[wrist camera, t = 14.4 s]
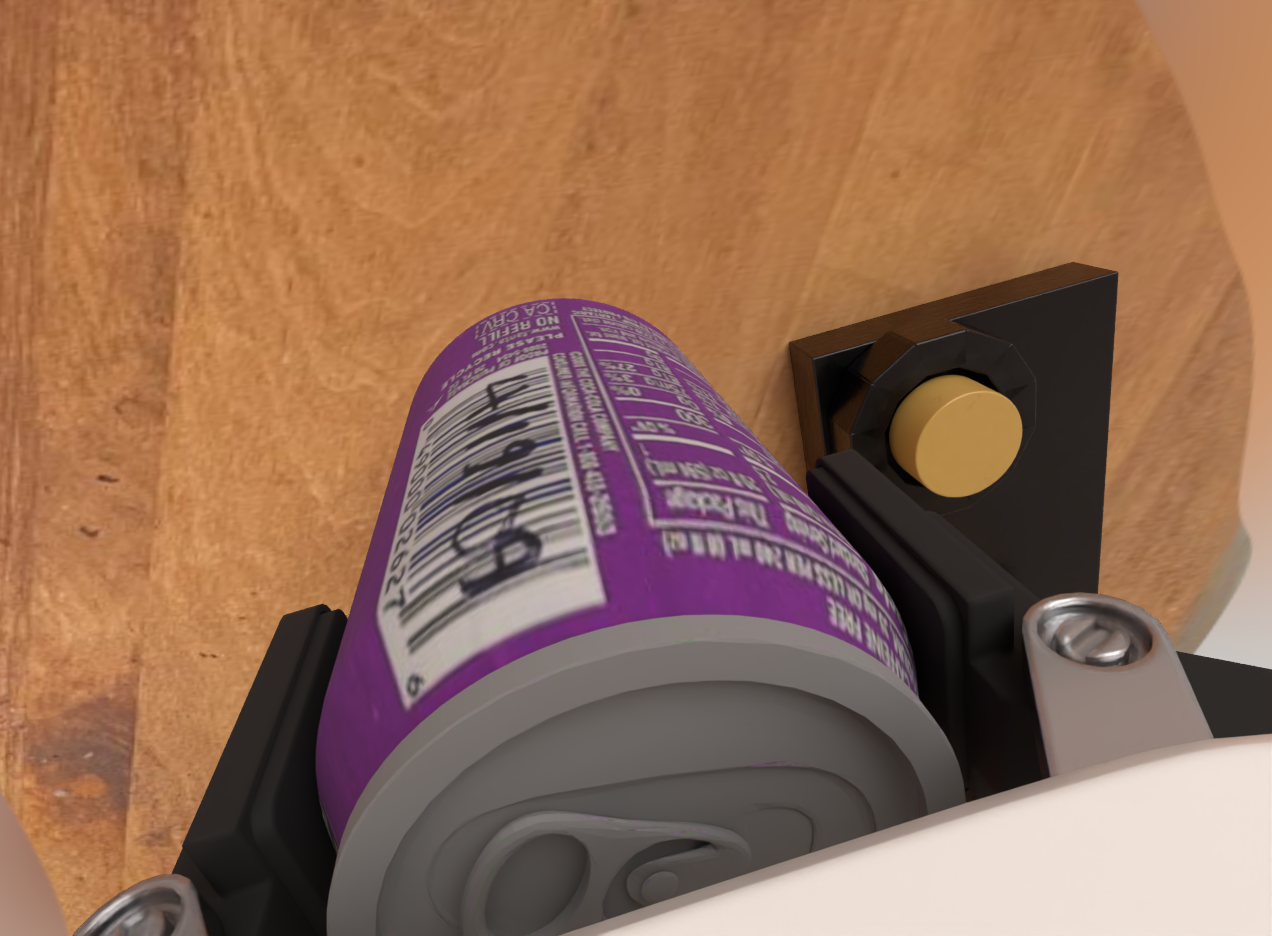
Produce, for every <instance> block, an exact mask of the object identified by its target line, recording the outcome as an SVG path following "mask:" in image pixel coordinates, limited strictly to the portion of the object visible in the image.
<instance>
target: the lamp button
mask: <svg viewBox="0 0 1272 936" xmlns="http://www.w3.org/2000/svg"><path fill="white" fill-rule="evenodd" d="M1021 439H1022V422H1021V417H1020V415H1019V412H1018V410H1017V409H1016V407H1015V405H1014V404H1013V403H1012V402H1011V401H1010V400H1009V399H1008V398H1007V397H1005V396H1003V395H1001V394H1000V393H998V392H996V391H994V390H992V389H990V388H988V387H986V386H984V385H982V384H980V383H978V382H976V381H974V380H972V379H970V378H967V377H965V376H960V375H944V376H940V377H936V378H933V379H930V380H928V381H926V382H924V383H923V384H921V385H919V386H918V387H917V388H915V389H914V390H913V391H912V392H911V393H909V394H908V395H907V396H906V398H905V399H904V400H903V401H902V402H901V404H900V406H899V407H898V409H897V411H896V412H895V414H894V417H893V419H892V422H891V426H890V432H889V443H890V449H891V452H892V455H893V457H894V459H895V460H896V462H897V463H898V464H899V465H900V466H901V467H902V468H903V469H904V470H905V471H907V472H908V473H909V474H910V475H911V476H913V477H914V478H915V479H916V480H918V481H919V482H920V483H921V484H923V485H924V486H925V487H926V488H928V489H929V490H930V491H932V492H934V493H936V494H938V495H941V496H945V497H964V496H969V495H972V494H975V493H978V492H980V491H982V490H984V489H985V488H987V487H989V486H990V485H992V484H993V483H994V482H996V481H997V480H998V479H999V478H1000V477H1001V476H1002V475H1003V474H1004V473H1005V472H1006V471H1007V469H1008V468H1009V467H1010V465H1011V464H1012V462H1013V460H1014V459H1015V457H1016V455H1017V452H1018V450H1019V447H1020V444H1021Z"/></svg>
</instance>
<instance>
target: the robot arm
mask: <svg viewBox="0 0 1272 936" xmlns="http://www.w3.org/2000/svg"><path fill="white" fill-rule="evenodd" d="M806 482H807V489H808V496H809V498H810V499H811V500H812V501H813V502H814V503H815V504H816V505H817V507H818V508H819V509H820V510H821V511H822V512H823V513H824V515H825V516H826V517H827V518H828V519H829V520H830V521H831V523H832V524H833V525H834V526H835V527H836V528H837V529H838V531H839V532H840V533H841V534H842V535H843V536H844V537H845V539H846V540H847V541H848V542H849V543H850V544H851V545H852V547H853V548H854V549H855V550H856V551H857V552H858V553H859V555H860V556H861V557H862V558H863V559H864V560H865V562H866V563H867V564H868V565H869V566H870V568H871V569H872V570H873V571H874V573H875V574H876V576H877V577H878V579H879V580H880V582H881V583H882V585H883V586H884V588H885V589H886V591H887V592H888V594H889V595H890V597H891V598H892V600H893V602H894V604H895V606H896V608H897V610H898V611H899V613H900V616H901V618H902V621H903V623H904V626H905V628H906V631H907V634H908V637H909V641H910V644H911V648H912V652H913V656H914V662H915V667H916V674H917V684H918V693H919V700H920V701H921V702H922V704H923V705H924V706H925V708H926V709H927V710H928V712H929V713H930V714H931V716H932V717H933V718H934V720H935V721H936V722H937V724H938V725H939V727H940V728H941V729H942V731H943V732H944V734H945V736H946V737H947V739H948V741H949V743H950V745H951V747H952V748H953V751H954V753H955V756H956V758H957V761H958V763H959V767H960V771H961V774H962V778H963V783H964V790H965V798H966V803H965V804H961V805H958V806H955V807H952V808H949V809H946V810H943V811H940V812H937V813H934V814H930V815H927V816H924V817H921V818H918V819H915V820H912V821H909V822H906V823H902V824H899V825H896V826H893V827H890V828H887V829H884V830H881V831H878V832H875V833H871V834H868V835H865V836H862V837H859V838H856V839H853V840H850V841H847V842H844V843H840V844H837V845H834V846H831V847H828V848H825V849H822V850H819V851H816V852H813V853H809V854H806V855H803V856H800V857H797V858H794V859H791V860H788V861H785V862H781V863H778V864H775V865H772V866H769V867H766V868H763V869H760V870H757V871H754V872H751V873H748V874H745V875H742V876H738V877H735V878H732V879H729V880H726V881H723V882H720V883H717V884H714V885H711V886H708V887H705V888H702V889H699V890H696V891H693V892H690V893H687V894H684V895H680V896H677V897H674V898H671V899H668V900H665V901H662V902H659V903H656V904H653V905H650V906H647V907H644V908H641V909H638V910H635V911H632V912H629V913H626V914H623V915H620V916H617V917H614V918H610V919H607V920H604V921H601V922H598V923H595V924H592V925H589V926H586V927H583V928H580V929H577V930H574V931H571V932H568V933H565V934H562V935H559V936H1272V669H1266V668H1261V667H1256V666H1251V665H1246V664H1240V663H1235V662H1230V661H1225V660H1220V659H1214V658H1209V657H1203V656H1198V655H1194V654H1188V653H1183V652H1178V651H1175V648H1174V646H1173V644H1172V642H1171V639H1170V637H1169V635H1168V633H1167V632H1166V630H1165V629H1164V627H1163V626H1162V625H1161V623H1160V622H1159V620H1157V619H1156V618H1155V617H1153V616H1152V615H1151V614H1149V613H1148V612H1147V611H1145V610H1144V609H1142V608H1140V607H1138V606H1136V605H1133V604H1131V603H1129V602H1127V601H1125V600H1122V599H1118V598H1114V597H1110V596H1106V595H1102V594H1092V593H1081V592H1080V593H1067V594H1059V595H1055V596H1052V597H1048V598H1045V599H1042V600H1040V599H1039V598H1038V597H1036V596H1035V595H1034V594H1033V593H1032V592H1030V591H1029V590H1028V589H1027V588H1026V587H1025V586H1023V585H1022V584H1021V583H1020V582H1019V581H1017V580H1016V579H1015V578H1014V577H1013V576H1012V575H1010V574H1009V573H1008V572H1007V571H1006V570H1005V569H1003V568H1002V567H1001V566H1000V565H999V564H997V563H996V562H995V561H994V560H993V559H992V558H990V557H989V556H988V555H987V554H986V553H984V552H983V551H982V550H981V549H980V548H979V547H977V546H976V545H975V544H974V543H973V542H971V541H970V540H969V539H968V538H967V537H966V536H964V535H963V534H962V533H961V532H960V531H958V530H957V529H956V528H955V527H954V526H953V525H951V524H950V523H949V522H948V521H947V520H945V519H944V518H943V517H942V516H941V515H939V514H937V513H936V512H934V511H927V512H926V511H925V510H924V509H922V508H921V507H920V506H919V505H918V504H917V503H915V502H914V501H913V500H912V499H911V498H910V497H909V496H907V495H906V494H905V493H904V492H903V491H902V490H900V489H899V488H898V487H897V486H896V485H895V484H894V483H892V482H891V481H890V480H889V479H888V478H887V477H885V476H884V475H883V474H882V473H881V472H880V471H879V470H877V469H876V468H875V467H874V466H873V465H872V464H870V463H869V462H868V461H867V460H866V459H865V458H864V457H862V456H861V455H860V454H859V453H858V452H857V451H855V450H854V449H848V450H845V451H842V452H838V453H835V454H831V455H828V456H824V457H821V458H818V459H817V460H816V463H815V469H812V470H809V471H807V473H806ZM347 621H348V619H347V617H346V615H345V614H344V612H343V611H342V610H340V609H337V610H333V611H331V609H330V608H329V607H328V606H327V605H324V604H320V605H317V606H313V607H310V608H307V609H303V610H300V611H296V612H293V613H290V614H287V615H284V616H283V617H282V619H281V621H280V623H279V625H278V627H277V630H276V632H275V634H274V637H273V639H272V641H271V644H270V646H269V648H268V650H267V653H266V655H265V657H264V660H263V662H262V664H261V666H260V669H259V671H258V673H257V676H256V678H255V680H254V682H253V685H252V687H251V689H250V692H249V694H248V696H247V698H246V701H245V703H244V705H243V708H242V710H241V712H240V715H239V717H238V719H237V721H236V724H235V726H234V728H233V731H232V733H231V735H230V737H229V740H228V742H227V744H226V747H225V749H224V751H223V753H222V756H221V758H220V760H219V763H218V765H217V767H216V769H215V772H214V774H213V776H212V779H211V781H210V783H209V786H208V788H207V790H206V792H205V795H204V797H203V799H202V802H201V804H200V806H199V808H198V811H197V813H196V815H195V818H194V820H193V822H192V824H191V827H190V829H189V831H188V834H187V836H186V838H185V840H184V843H183V845H182V847H183V849H182V851H181V853H180V856H179V858H178V860H177V863H176V865H175V867H174V869H173V872H172V874H164V875H159V876H155V877H152V878H149V879H146V880H143V881H141V882H139V883H137V884H135V885H133V886H131V887H130V888H128V889H126V890H124V891H122V892H121V893H119V894H118V895H116V896H115V897H114V898H112V899H111V900H110V901H108V902H107V903H106V904H104V905H103V906H102V907H100V908H99V909H98V910H97V911H96V912H95V913H94V914H93V915H91V916H90V917H89V918H88V919H87V920H86V921H85V922H84V923H83V924H82V925H81V926H80V927H79V928H78V929H77V931H76V932H75V933H74V934H73V936H327V906H328V898H329V891H330V886H331V881H332V877H333V872H334V867H335V863H336V858H337V855H336V852H335V849H334V847H333V844H332V841H331V838H330V836H329V833H328V830H327V827H326V824H325V821H324V819H323V815H322V810H321V806H320V801H319V795H318V787H317V778H316V745H317V734H318V727H319V723H320V718H321V713H322V708H323V703H324V699H325V695H326V692H327V689H328V685H329V682H330V678H331V675H332V672H333V668H334V665H335V661H336V658H337V655H338V651H339V648H340V644H341V641H342V638H343V634H344V631H345V628H346V624H347Z"/></svg>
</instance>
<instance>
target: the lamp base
mask: <svg viewBox="0 0 1272 936" xmlns="http://www.w3.org/2000/svg"><path fill="white" fill-rule="evenodd" d="M1117 287H1118V272H1116V271H1112V270H1107V269H1103V268H1098V267H1093V266H1089V265H1084V264H1080V263H1075V262H1071V263H1068V264H1064V265H1061V266H1057V267H1054V268H1050V269H1047V270H1043V271H1040V272H1036V273H1032V274H1029V275H1025V276H1022V277H1018V278H1015V279H1011V280H1008V281H1004V282H1001V283H997V284H994V285H990V286H986V287H983V288H979V289H976V290H972V291H969V292H965V293H962V294H958V295H955V296H951V297H948V298H944V299H940V300H937V301H933V302H930V303H926V304H923V305H919V306H916V307H912V308H909V309H905V310H901V311H898V312H894V313H891V314H887V315H884V316H880V317H877V318H873V319H870V320H866V321H863V322H859V323H855V324H852V325H848V326H845V327H841V328H838V329H834V330H831V331H827V332H824V333H820V334H817V335H813V336H809V337H806V338H802V339H799V340H795V341H792V342H789V347H790V354H791V361H792V368H793V375H794V382H795V389H796V397H797V404H798V411H799V418H800V425H801V432H802V439H803V446H804V453H805V461H806V468H807V471H809V470H812V469H815V463H816V460H817V459H818V458H821V457H824V456H828V455H831V454H835V453H838V452H842V451H845V450H848V449H854V450H855V451H857V452H858V453H859V454H860V455H861V456H862V457H864V458H865V459H866V460H867V461H868V462H869V463H870V464H872V465H873V466H874V467H875V468H876V469H877V470H879V471H880V472H881V473H882V474H883V475H884V476H885V477H887V478H888V479H889V480H890V481H891V482H892V483H894V484H895V485H896V486H897V487H898V488H899V489H900V490H902V491H903V492H904V493H905V494H906V495H907V496H909V497H910V498H911V499H912V500H913V501H914V502H915V503H917V504H918V505H919V506H920V507H921V508H922V509H924V510H925V511H926V512H927V511H934V512H936V513H937V514H939V515H941V516H942V517H943V518H944V519H945V520H947V521H948V522H949V523H950V524H951V525H953V526H954V527H955V528H956V529H957V530H958V531H960V532H961V533H962V534H963V535H964V536H966V537H967V538H968V539H969V540H970V541H971V542H973V543H974V544H975V545H976V546H977V547H979V548H980V549H981V550H982V551H983V552H984V553H986V554H987V555H988V556H989V557H990V558H992V559H993V560H994V561H995V562H996V563H997V564H999V565H1000V566H1001V567H1002V568H1003V569H1005V570H1006V571H1007V572H1008V573H1009V574H1010V575H1012V576H1013V577H1014V578H1015V579H1016V580H1017V581H1019V582H1020V583H1021V584H1022V585H1023V586H1025V587H1026V588H1027V589H1028V590H1029V591H1030V592H1032V593H1033V594H1034V595H1035V596H1036V597H1038V598H1039V599H1040V600H1042V599H1045V598H1048V597H1052V596H1055V595H1059V594H1067V593H1080V592H1081V593H1092V594H1098V584H1099V568H1100V553H1101V537H1102V521H1103V506H1104V490H1105V474H1106V459H1107V443H1108V428H1109V412H1110V396H1111V381H1112V365H1113V350H1114V334H1115V318H1116V303H1117ZM944 375H960V376H965V377H967V378H970V379H972V380H974V381H976V382H978V383H980V384H982V385H984V386H986V387H988V388H990V389H992V390H994V391H996V392H998V393H1000V394H1001V395H1003V396H1005V397H1007V398H1008V399H1009V400H1010V401H1011V402H1012V403H1013V404H1014V405H1015V407H1016V409H1017V410H1018V412H1019V415H1020V417H1021V422H1022V439H1021V444H1020V447H1019V450H1018V452H1017V455H1016V457H1015V459H1014V460H1013V462H1012V464H1011V465H1010V467H1009V468H1008V469H1007V471H1006V472H1005V473H1004V474H1003V475H1002V476H1001V477H1000V478H999V479H998V480H997V481H996V482H994V483H993V484H992V485H990V486H989V487H987V488H985V489H984V490H982V491H980V492H978V493H975V494H972V495H969V496H964V497H945V496H941V495H938V494H936V493H934V492H932V491H930V490H929V489H928V488H926V487H925V486H924V485H923V484H921V483H920V482H919V481H918V480H916V479H915V478H914V477H913V476H911V475H910V474H909V473H908V472H907V471H905V470H904V469H903V468H902V467H901V466H900V465H899V464H898V463H897V462H896V460H895V459H894V457H893V455H892V452H891V449H890V443H889V432H890V426H891V422H892V419H893V417H894V414H895V412H896V411H897V409H898V407H899V406H900V404H901V402H902V401H903V400H904V399H905V398H906V396H907V395H908V394H909V393H911V392H912V391H913V390H914V389H915V388H917V387H918V386H919V385H921V384H923V383H924V382H926V381H928V380H930V379H933V378H936V377H940V376H944Z"/></svg>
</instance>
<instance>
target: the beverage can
mask: <svg viewBox="0 0 1272 936" xmlns="http://www.w3.org/2000/svg"><path fill="white" fill-rule="evenodd" d="M316 778H317V787H318V795H319V801H320V806H321V810H322V815H323V819H324V821H325V824H326V827H327V830H328V833H329V836H330V838H331V841H332V844H333V847H334V849H335V852H336V855H337V858H336V863H335V867H334V872H333V877H332V881H331V886H330V891H329V898H328V906H327V936H559V935H562V934H565V933H568V932H571V931H574V930H577V929H580V928H583V927H586V926H589V925H592V924H595V923H598V922H601V921H604V920H607V919H610V918H614V917H617V916H620V915H623V914H626V913H629V912H632V911H635V910H638V909H641V908H644V907H647V906H650V905H653V904H656V903H659V902H662V901H665V900H668V899H671V898H674V897H677V896H680V895H684V894H687V893H690V892H693V891H696V890H699V889H702V888H705V887H708V886H711V885H714V884H717V883H720V882H723V881H726V880H729V879H732V878H735V877H738V876H742V875H745V874H748V873H751V872H754V871H757V870H760V869H763V868H766V867H769V866H772V865H775V864H778V863H781V862H785V861H788V860H791V859H794V858H797V857H800V856H803V855H806V854H809V853H813V852H816V851H819V850H822V849H825V848H828V847H831V846H834V845H837V844H840V843H844V842H847V841H850V840H853V839H856V838H859V837H862V836H865V835H868V834H871V833H875V832H878V831H881V830H884V829H887V828H890V827H893V826H896V825H899V824H902V823H906V822H909V821H912V820H915V819H918V818H921V817H924V816H927V815H930V814H934V813H937V812H940V811H943V810H946V809H949V808H952V807H955V806H958V805H961V804H965V803H966V798H965V790H964V783H963V778H962V774H961V771H960V767H959V763H958V761H957V758H956V756H955V753H954V751H953V748H952V747H951V745H950V743H949V741H948V739H947V737H946V736H945V734H944V732H943V731H942V729H941V728H940V727H939V725H938V724H937V722H936V721H935V720H934V718H933V717H932V716H931V714H930V713H929V712H928V710H927V709H926V708H925V706H924V705H923V704H922V702H921V701H920V700H919V693H918V684H917V674H916V667H915V662H914V656H913V652H912V648H911V644H910V641H909V637H908V634H907V631H906V628H905V626H904V623H903V621H902V618H901V616H900V613H899V611H898V610H897V608H896V606H895V604H894V602H893V600H892V598H891V597H890V595H889V594H888V592H887V591H886V589H885V588H884V586H883V585H882V583H881V582H880V580H879V579H878V577H877V576H876V574H875V573H874V571H873V570H872V569H871V568H870V566H869V565H868V564H867V563H866V562H865V560H864V559H863V558H862V557H861V556H860V555H859V553H858V552H857V551H856V550H855V549H854V548H853V547H852V545H851V544H850V543H849V542H848V541H847V540H846V539H845V537H844V536H843V535H842V534H841V533H840V532H839V531H838V529H837V528H836V527H835V526H834V525H833V524H832V523H831V521H830V520H829V519H828V518H827V517H826V516H825V515H824V513H823V512H822V511H821V510H820V509H819V508H818V507H817V505H816V504H815V503H814V502H813V501H812V500H811V499H810V498H809V496H808V495H807V494H806V493H805V492H804V491H803V490H802V488H801V487H800V486H799V485H798V484H797V483H796V482H795V480H794V479H793V478H792V477H791V476H790V475H789V474H788V472H787V471H786V470H785V469H784V468H783V467H782V466H781V464H780V463H779V462H778V461H777V460H776V459H775V458H774V456H773V455H772V454H771V453H770V452H769V451H768V450H767V448H766V447H765V446H764V445H763V444H762V443H761V442H760V440H759V439H758V438H757V437H756V436H755V435H754V434H753V432H752V431H751V430H750V429H749V428H748V427H747V426H746V425H745V423H744V422H743V421H742V420H741V419H740V418H739V417H738V415H737V414H736V413H735V412H734V411H733V410H732V409H731V407H730V406H729V405H728V404H727V403H726V402H725V401H724V399H723V398H722V397H721V396H720V395H719V394H718V393H717V391H716V390H715V389H714V388H713V387H712V386H711V385H710V383H709V382H708V381H707V380H706V379H705V378H704V377H703V375H702V374H701V373H700V372H699V371H698V370H697V369H696V367H695V366H694V365H693V364H692V363H691V362H690V361H689V359H688V358H687V357H686V356H685V355H684V354H683V353H682V352H681V350H680V349H679V348H678V347H677V346H676V345H675V344H674V343H673V342H672V341H671V340H670V339H669V338H668V337H667V336H666V335H664V334H663V333H662V332H661V331H660V330H658V329H657V328H655V327H654V326H653V325H651V324H650V323H648V322H647V321H645V320H643V319H641V318H640V317H638V316H636V315H634V314H632V313H630V312H627V311H625V310H622V309H620V308H617V307H614V306H611V305H608V304H604V303H599V302H595V301H589V300H582V299H568V298H563V299H546V300H538V301H532V302H527V303H523V304H519V305H516V306H512V307H510V308H507V309H504V310H501V311H499V312H497V313H494V314H492V315H490V316H488V317H486V318H484V319H483V320H481V321H479V322H477V323H476V324H474V325H473V326H471V327H470V328H468V329H467V330H465V331H464V332H463V333H462V334H460V335H459V336H458V337H456V338H455V339H454V340H453V341H452V342H451V343H450V344H449V345H448V346H447V347H446V348H445V349H444V350H443V351H442V352H441V353H440V354H439V356H438V357H437V358H436V359H435V361H434V362H433V363H432V365H431V366H430V368H429V369H428V371H427V372H426V374H425V375H424V377H423V379H422V381H421V383H420V385H419V386H418V389H417V391H416V393H415V396H414V398H413V401H412V404H411V408H410V411H409V414H408V417H407V421H406V424H405V428H404V431H403V434H402V438H401V441H400V445H399V448H398V451H397V455H396V458H395V462H394V465H393V468H392V472H391V475H390V478H389V482H388V485H387V489H386V492H385V495H384V499H383V502H382V506H381V509H380V512H379V516H378V519H377V523H376V526H375V529H374V533H373V536H372V539H371V543H370V546H369V550H368V553H367V556H366V560H365V563H364V567H363V570H362V573H361V577H360V580H359V583H358V587H357V590H356V594H355V597H354V600H353V604H352V607H351V611H350V614H349V617H348V621H347V624H346V628H345V631H344V634H343V638H342V641H341V644H340V648H339V651H338V655H337V658H336V661H335V665H334V668H333V672H332V675H331V678H330V682H329V685H328V689H327V692H326V695H325V699H324V703H323V708H322V713H321V718H320V723H319V727H318V734H317V745H316Z"/></svg>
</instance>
